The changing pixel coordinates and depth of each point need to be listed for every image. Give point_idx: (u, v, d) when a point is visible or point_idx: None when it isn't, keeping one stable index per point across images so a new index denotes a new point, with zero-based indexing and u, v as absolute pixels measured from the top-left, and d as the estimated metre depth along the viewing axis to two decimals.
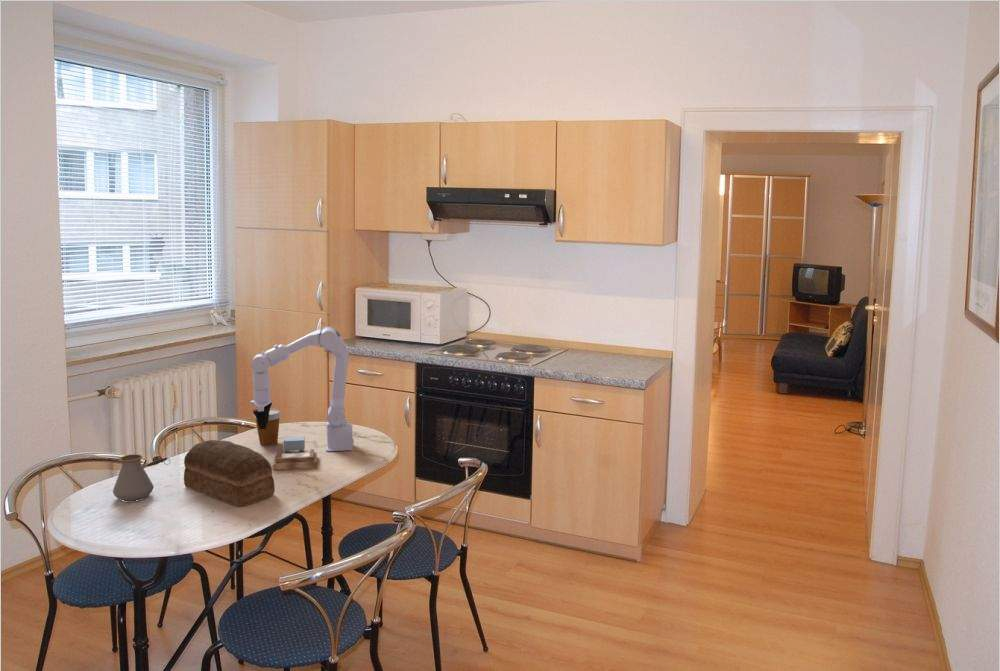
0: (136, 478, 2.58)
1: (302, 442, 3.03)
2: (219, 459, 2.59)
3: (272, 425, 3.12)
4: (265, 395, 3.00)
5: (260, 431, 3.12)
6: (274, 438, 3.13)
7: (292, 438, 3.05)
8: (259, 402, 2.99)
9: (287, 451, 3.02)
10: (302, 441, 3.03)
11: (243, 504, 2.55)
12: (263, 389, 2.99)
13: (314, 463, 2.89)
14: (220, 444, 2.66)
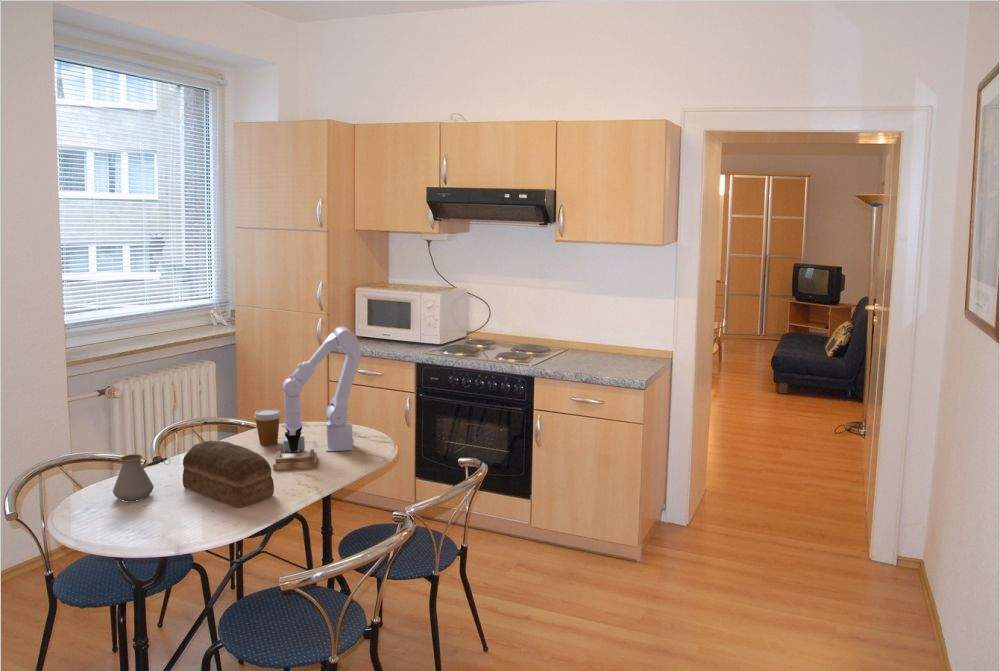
0: (136, 478, 2.58)
1: (302, 442, 3.03)
2: (218, 460, 2.58)
3: (272, 425, 3.12)
4: (296, 419, 3.01)
5: (260, 431, 3.12)
6: (274, 438, 3.13)
7: None
8: (290, 426, 3.00)
9: (287, 451, 3.02)
10: (302, 441, 3.03)
11: (242, 505, 2.55)
12: (296, 413, 3.00)
13: (314, 463, 2.89)
14: (219, 445, 2.65)
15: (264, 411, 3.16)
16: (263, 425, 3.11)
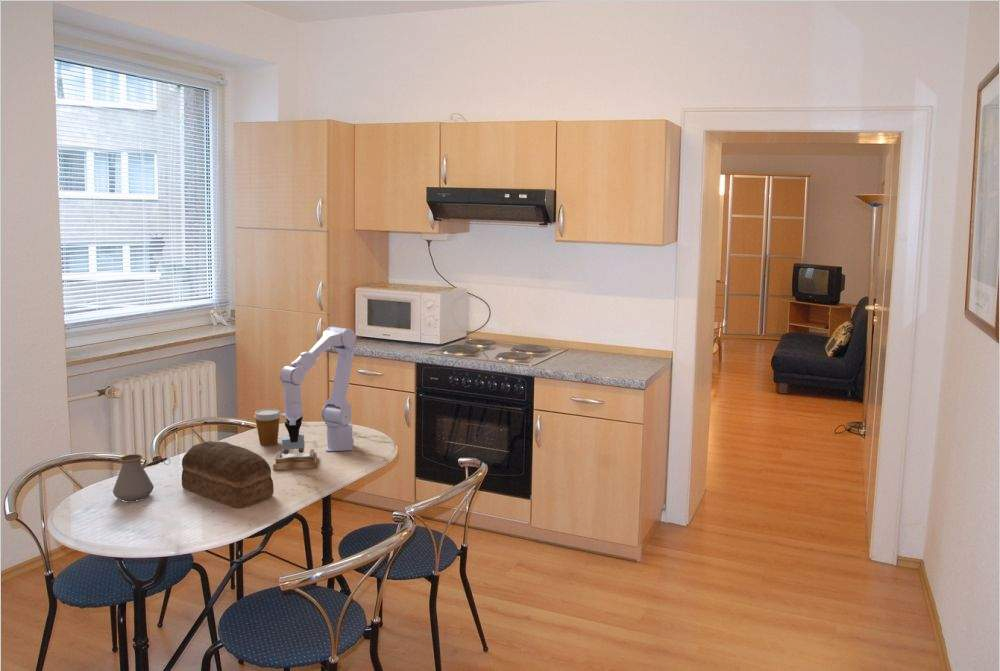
0: (136, 478, 2.58)
1: (301, 440, 2.91)
2: (217, 460, 2.58)
3: (272, 425, 3.12)
4: (297, 408, 2.88)
5: (260, 431, 3.12)
6: (274, 438, 3.13)
7: None
8: (290, 415, 2.88)
9: (286, 450, 2.90)
10: (301, 439, 2.90)
11: (242, 505, 2.54)
12: (300, 401, 2.89)
13: (314, 463, 2.89)
14: (218, 445, 2.64)
15: (264, 411, 3.16)
16: (263, 425, 3.11)
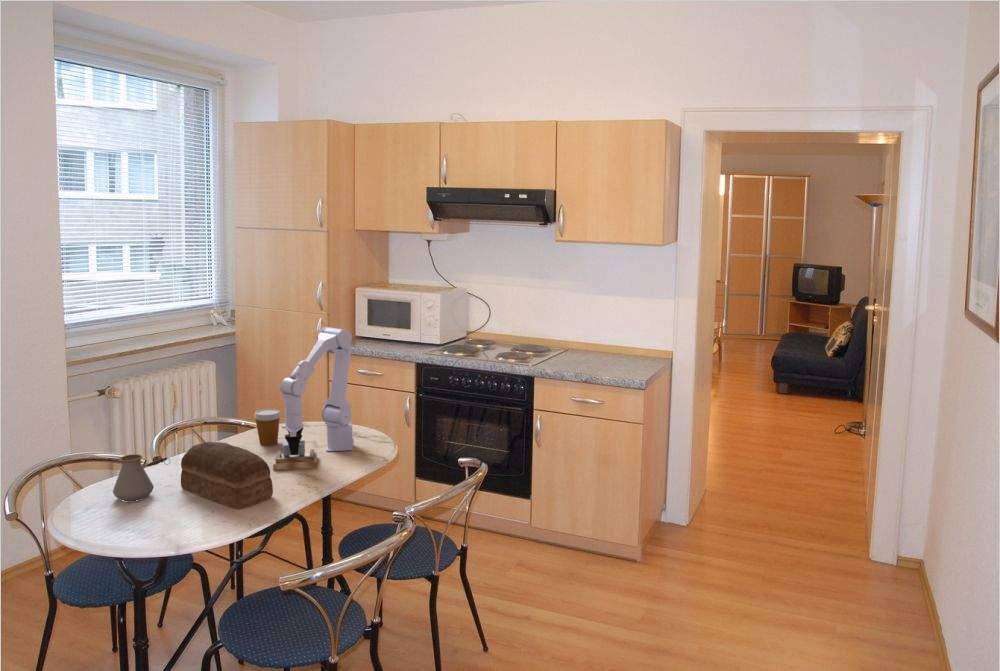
0: (136, 478, 2.58)
1: (302, 446, 2.91)
2: (216, 461, 2.57)
3: (272, 425, 3.12)
4: (297, 420, 2.89)
5: (260, 431, 3.12)
6: (274, 438, 3.13)
7: None
8: (291, 427, 2.89)
9: (287, 456, 2.91)
10: (302, 445, 2.91)
11: (241, 506, 2.54)
12: (300, 412, 2.90)
13: (314, 463, 2.89)
14: (217, 446, 2.64)
15: (264, 411, 3.16)
16: (263, 425, 3.11)
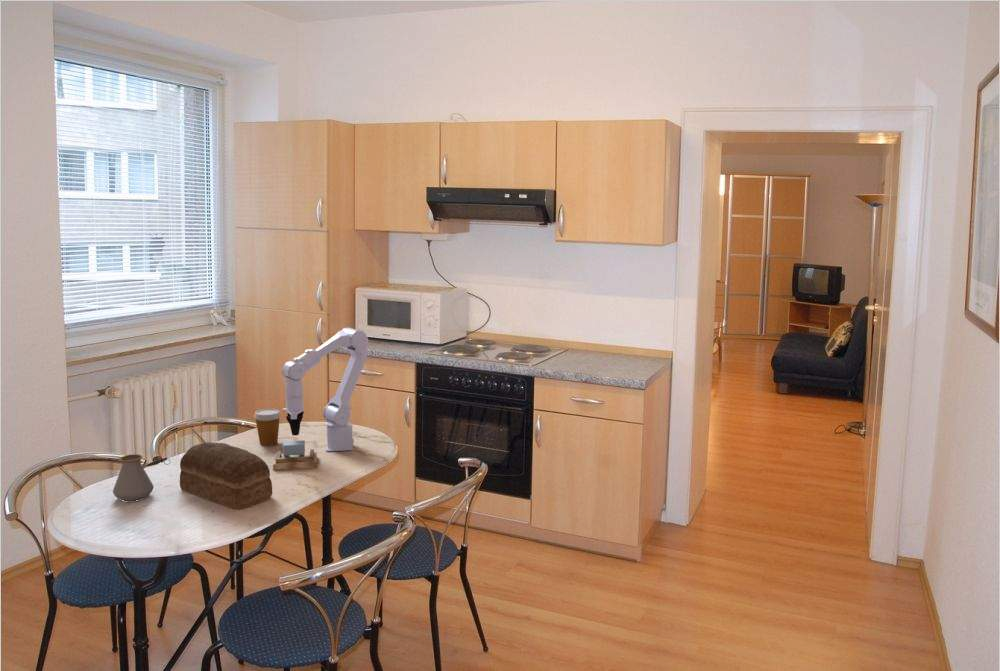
0: (136, 478, 2.58)
1: (302, 446, 2.91)
2: (216, 461, 2.57)
3: (272, 425, 3.12)
4: (298, 403, 2.95)
5: (260, 431, 3.12)
6: (274, 438, 3.13)
7: (292, 442, 2.93)
8: (292, 410, 2.95)
9: (287, 456, 2.91)
10: (302, 445, 2.91)
11: (241, 507, 2.53)
12: (299, 396, 2.95)
13: (314, 463, 2.89)
14: (217, 446, 2.63)
15: (264, 411, 3.16)
16: (263, 425, 3.11)
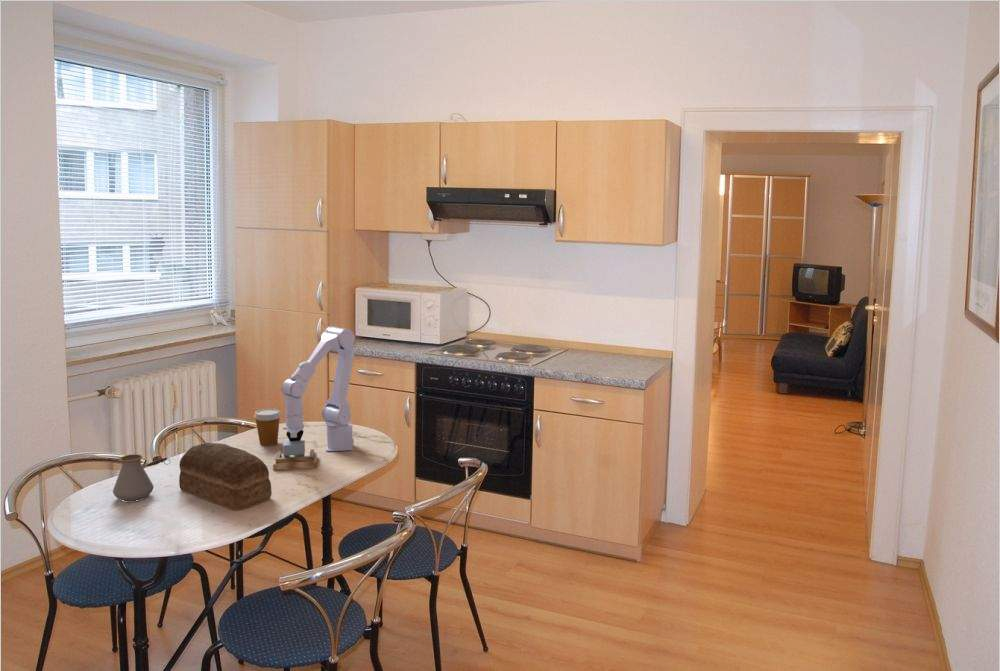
0: (136, 478, 2.58)
1: (302, 446, 2.91)
2: (215, 462, 2.56)
3: (272, 425, 3.12)
4: (298, 421, 2.92)
5: (260, 431, 3.12)
6: (274, 438, 3.13)
7: (292, 442, 2.93)
8: (292, 428, 2.92)
9: (287, 456, 2.91)
10: (302, 445, 2.91)
11: (240, 508, 2.52)
12: (300, 413, 2.93)
13: (314, 463, 2.89)
14: (216, 447, 2.63)
15: (264, 411, 3.16)
16: (263, 425, 3.11)
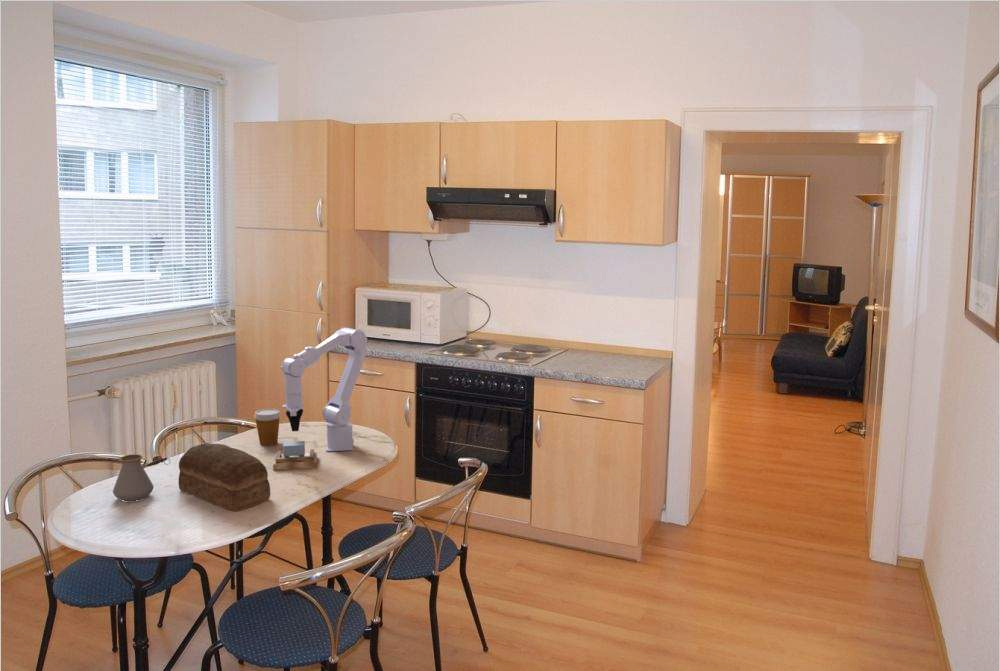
0: (136, 478, 2.58)
1: (302, 447, 2.90)
2: (213, 463, 2.56)
3: (272, 425, 3.12)
4: (297, 400, 2.94)
5: (260, 431, 3.12)
6: (274, 438, 3.13)
7: (292, 443, 2.92)
8: (291, 407, 2.93)
9: (287, 456, 2.90)
10: (302, 446, 2.90)
11: (238, 508, 2.52)
12: (299, 393, 2.94)
13: (314, 463, 2.89)
14: (215, 447, 2.62)
15: (264, 411, 3.16)
16: (263, 425, 3.11)
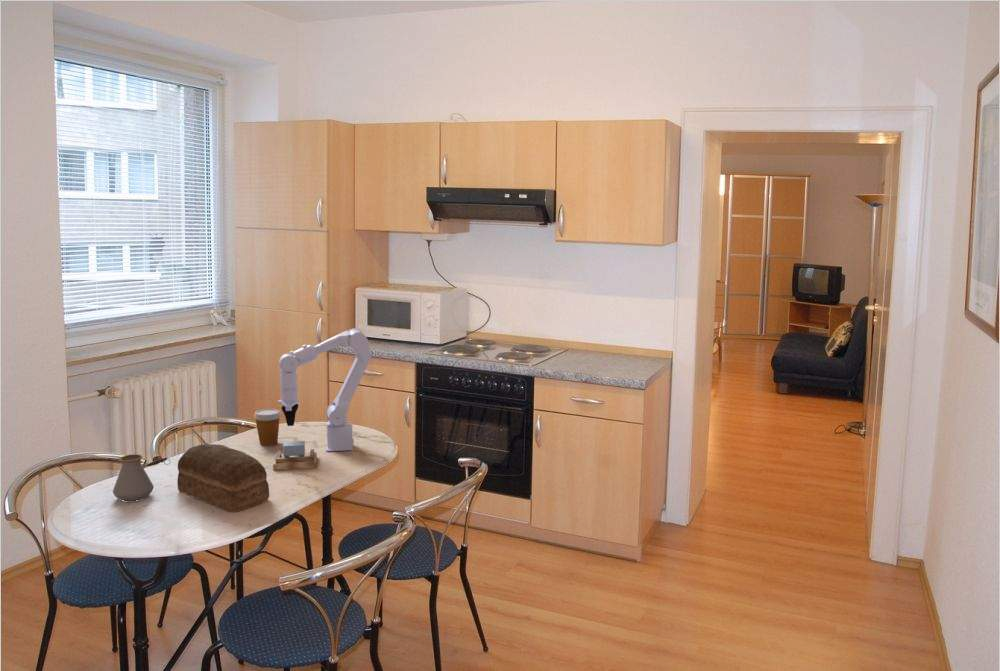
0: (136, 478, 2.58)
1: (302, 447, 2.90)
2: (212, 464, 2.55)
3: (272, 425, 3.12)
4: (293, 395, 3.00)
5: (260, 431, 3.12)
6: (274, 438, 3.13)
7: (292, 443, 2.92)
8: (287, 402, 3.00)
9: (287, 456, 2.90)
10: (302, 446, 2.90)
11: (237, 509, 2.51)
12: (291, 389, 2.99)
13: (314, 463, 2.89)
14: (214, 448, 2.62)
15: (264, 411, 3.16)
16: (263, 425, 3.11)
